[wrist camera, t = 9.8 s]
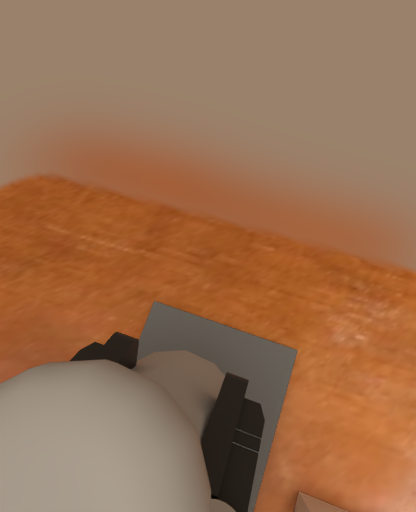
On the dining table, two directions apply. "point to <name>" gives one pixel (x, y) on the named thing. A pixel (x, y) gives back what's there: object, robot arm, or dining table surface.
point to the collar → (314, 505)
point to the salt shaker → (108, 435)
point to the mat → (227, 363)
